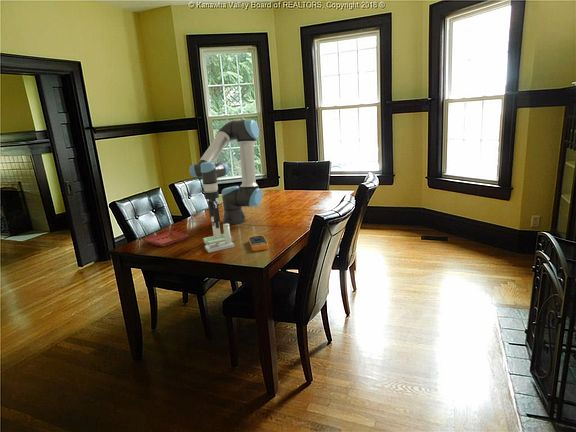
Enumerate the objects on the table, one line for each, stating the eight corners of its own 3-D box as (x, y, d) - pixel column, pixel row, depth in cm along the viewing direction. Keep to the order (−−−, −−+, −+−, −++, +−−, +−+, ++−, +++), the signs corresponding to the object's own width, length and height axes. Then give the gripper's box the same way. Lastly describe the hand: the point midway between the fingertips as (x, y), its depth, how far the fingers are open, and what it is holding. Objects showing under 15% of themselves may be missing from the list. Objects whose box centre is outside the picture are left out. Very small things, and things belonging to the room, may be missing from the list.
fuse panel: (230, 242, 206) (229, 239, 206) (234, 246, 199) (234, 243, 199) (205, 248, 201) (204, 245, 200) (208, 252, 194) (208, 249, 193)
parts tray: (227, 237, 217) (227, 233, 216) (233, 241, 208) (232, 237, 207) (203, 242, 211) (203, 238, 210) (208, 247, 202) (207, 242, 202)
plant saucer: (172, 235, 231) (171, 230, 231) (189, 239, 220) (189, 234, 219) (145, 244, 218) (144, 239, 217) (163, 249, 207) (161, 243, 206)
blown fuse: (220, 235, 211) (217, 215, 208) (222, 237, 208) (219, 216, 205) (212, 237, 210) (210, 216, 207) (214, 239, 206) (211, 218, 203)
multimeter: (263, 239, 208) (263, 233, 207) (269, 250, 191) (268, 243, 190) (248, 241, 206) (247, 236, 205) (252, 252, 189) (251, 246, 188)
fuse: (230, 244, 204) (228, 223, 201) (232, 245, 201) (229, 224, 198) (224, 245, 203) (222, 224, 200) (226, 247, 200) (223, 225, 197)
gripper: (200, 190, 208) (206, 230, 214) (208, 194, 193) (214, 237, 199) (213, 187, 211) (219, 227, 217) (222, 192, 196) (227, 234, 202)
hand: (216, 232), depth 208 cm, fingers closed on blown fuse, 4 cm apart
